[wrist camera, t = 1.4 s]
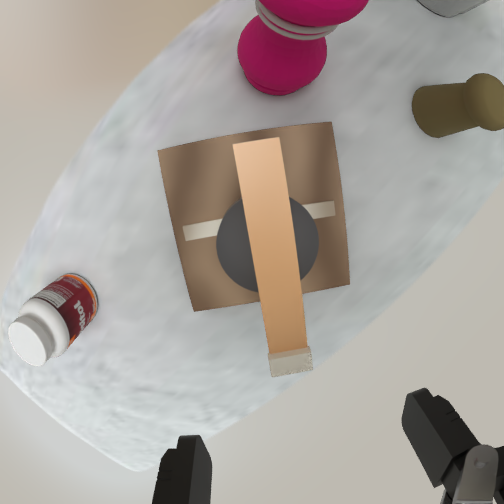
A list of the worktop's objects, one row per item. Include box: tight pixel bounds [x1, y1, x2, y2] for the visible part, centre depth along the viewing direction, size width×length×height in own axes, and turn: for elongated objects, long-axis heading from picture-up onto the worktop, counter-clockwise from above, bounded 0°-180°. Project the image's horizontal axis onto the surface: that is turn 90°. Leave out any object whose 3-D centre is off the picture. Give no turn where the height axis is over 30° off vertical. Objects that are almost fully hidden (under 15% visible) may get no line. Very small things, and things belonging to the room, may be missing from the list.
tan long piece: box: [216, 137, 319, 377], centre depth 17 cm, size 6×12×8 cm, turn 10°
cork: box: [412, 73, 504, 138], centre depth 20 cm, size 6×6×11 cm
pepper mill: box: [237, 0, 369, 95], centre depth 15 cm, size 7×7×20 cm
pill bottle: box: [8, 274, 98, 367], centre depth 25 cm, size 6×6×11 cm
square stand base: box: [158, 122, 350, 312], centre depth 25 cm, size 16×16×8 cm
